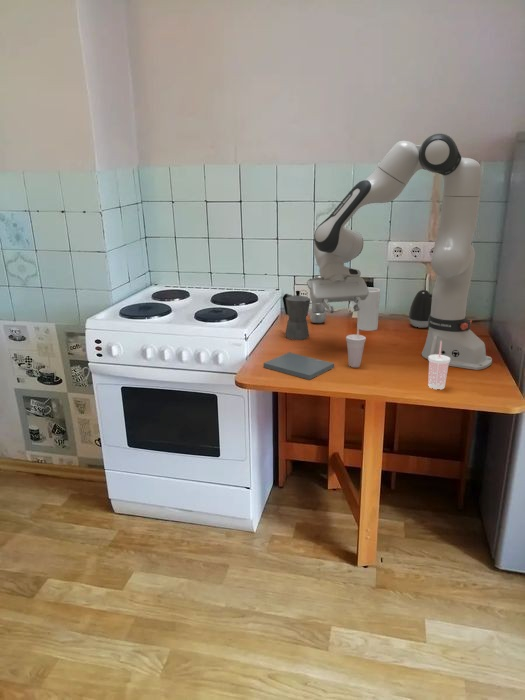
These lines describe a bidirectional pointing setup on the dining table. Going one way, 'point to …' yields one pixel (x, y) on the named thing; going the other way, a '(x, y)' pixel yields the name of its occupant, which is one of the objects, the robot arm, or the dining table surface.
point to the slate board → (299, 365)
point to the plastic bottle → (318, 311)
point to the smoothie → (355, 348)
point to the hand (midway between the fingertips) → (344, 311)
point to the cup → (369, 311)
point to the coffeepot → (296, 316)
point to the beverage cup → (438, 370)
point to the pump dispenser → (420, 309)
